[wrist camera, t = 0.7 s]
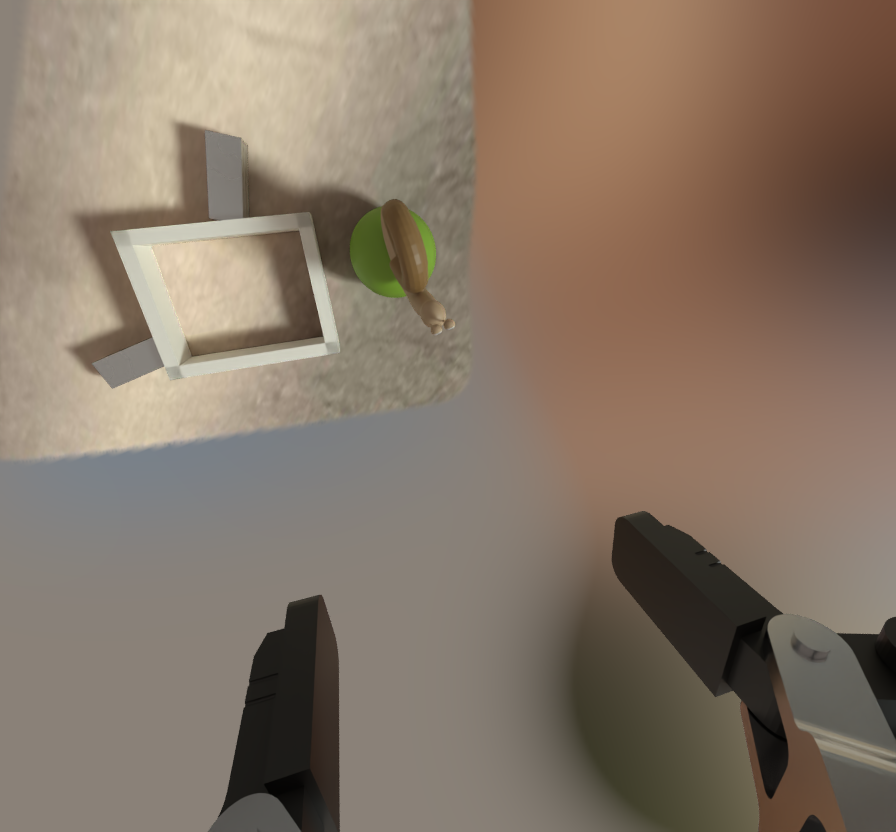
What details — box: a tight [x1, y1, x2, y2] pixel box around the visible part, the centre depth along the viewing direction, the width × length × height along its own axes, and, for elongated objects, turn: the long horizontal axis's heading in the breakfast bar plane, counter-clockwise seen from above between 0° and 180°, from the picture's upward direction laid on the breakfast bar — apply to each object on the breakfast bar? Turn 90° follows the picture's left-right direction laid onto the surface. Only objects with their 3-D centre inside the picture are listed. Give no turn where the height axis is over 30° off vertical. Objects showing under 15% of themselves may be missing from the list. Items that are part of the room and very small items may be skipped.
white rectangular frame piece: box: [92, 130, 340, 389], centre depth 25 cm, size 13×15×2 cm
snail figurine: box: [350, 199, 455, 335], centre depth 23 cm, size 5×6×12 cm
